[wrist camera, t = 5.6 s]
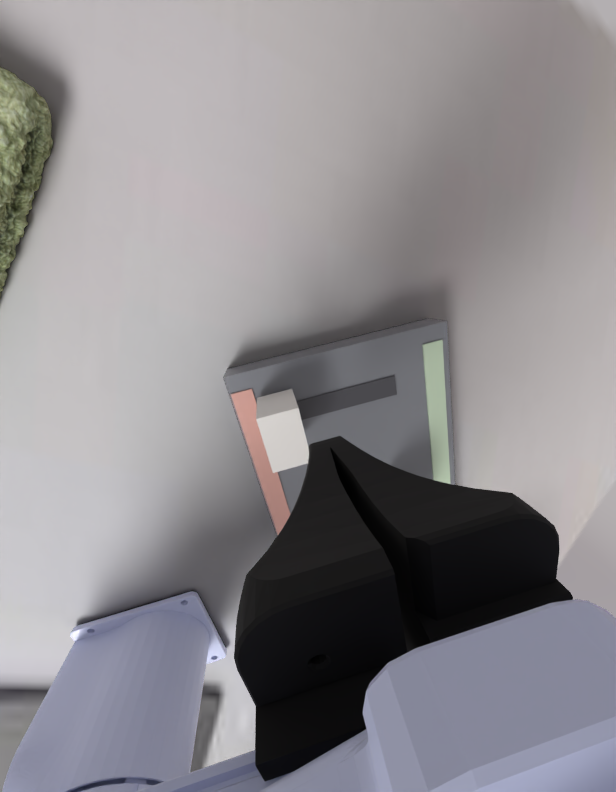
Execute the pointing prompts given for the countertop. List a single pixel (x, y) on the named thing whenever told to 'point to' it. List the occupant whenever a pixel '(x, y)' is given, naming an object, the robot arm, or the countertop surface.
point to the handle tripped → (282, 430)
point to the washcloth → (19, 159)
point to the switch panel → (356, 404)
